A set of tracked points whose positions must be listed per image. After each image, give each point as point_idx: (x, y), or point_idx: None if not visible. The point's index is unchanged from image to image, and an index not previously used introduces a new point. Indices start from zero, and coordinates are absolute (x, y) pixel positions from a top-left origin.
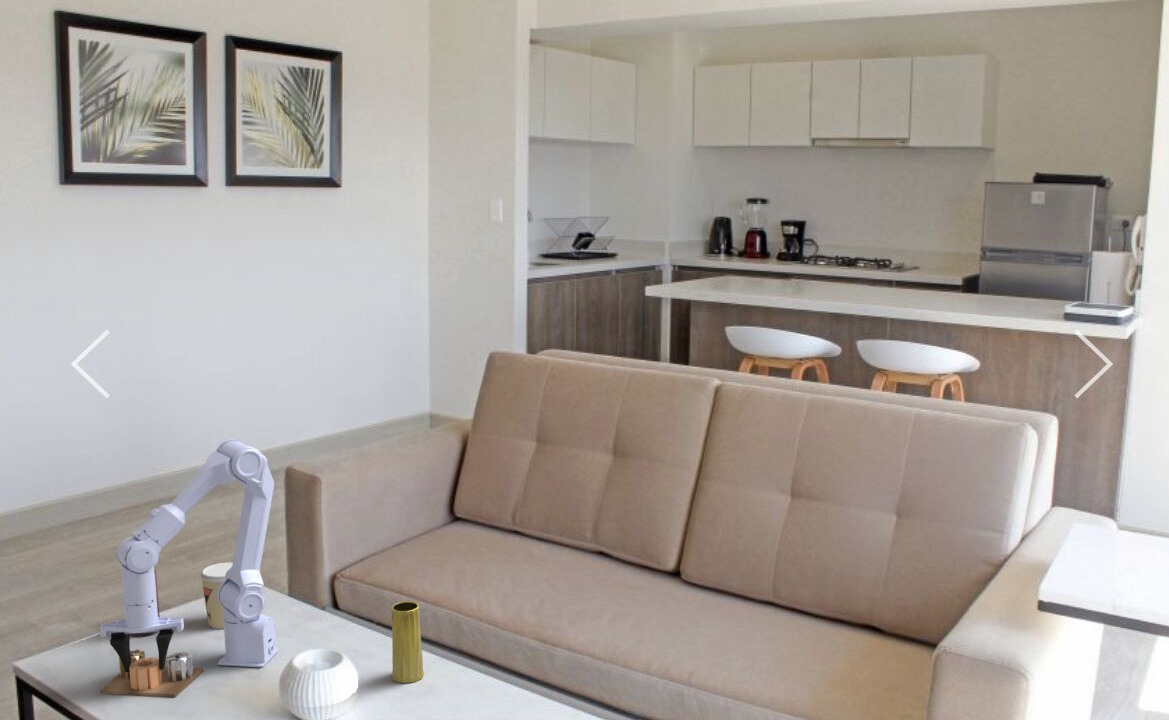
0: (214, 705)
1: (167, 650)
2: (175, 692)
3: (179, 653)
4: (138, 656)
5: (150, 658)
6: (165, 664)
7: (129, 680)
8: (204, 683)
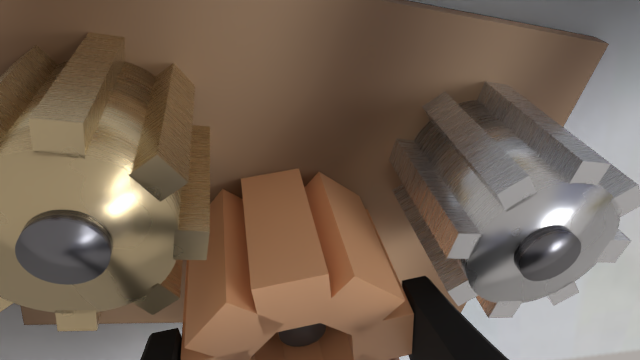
0: (595, 333)
1: (502, 358)
2: (457, 305)
3: (549, 199)
4: (172, 261)
5: (314, 292)
6: (430, 282)
7: None
8: None
